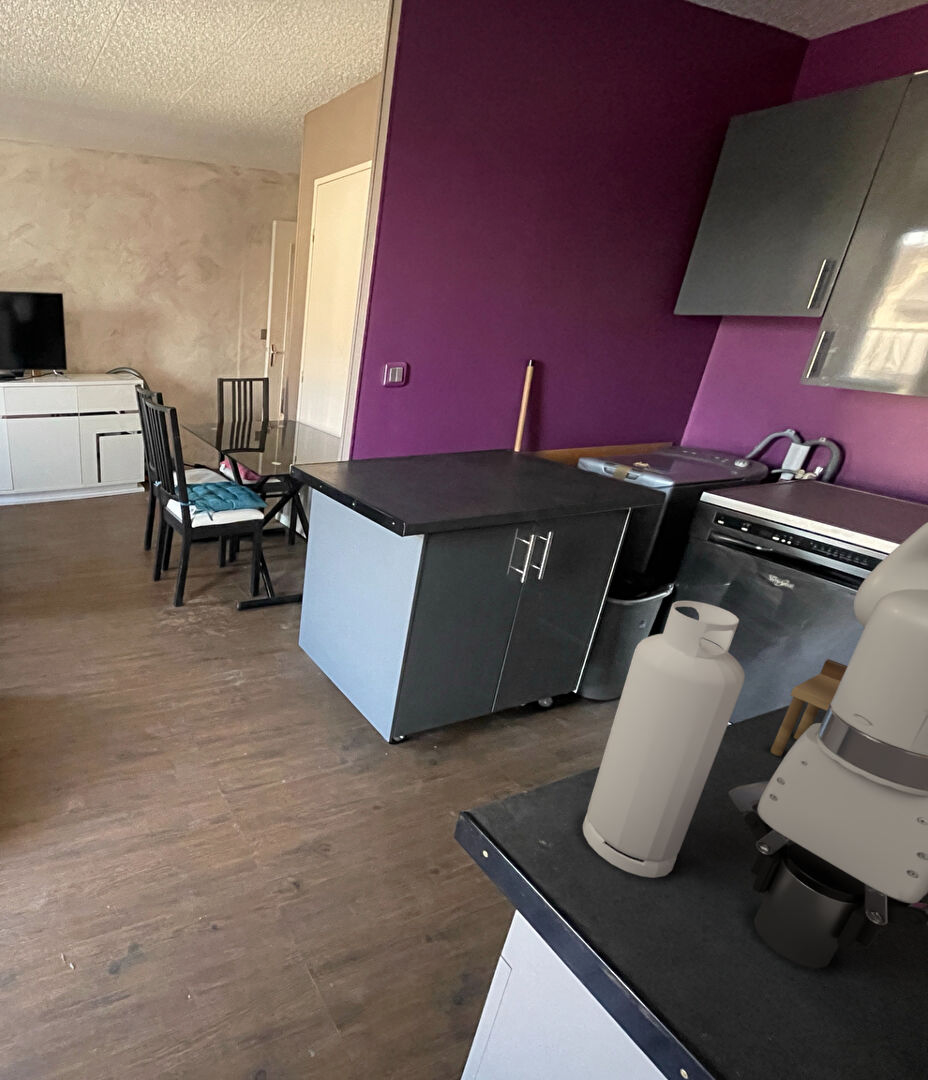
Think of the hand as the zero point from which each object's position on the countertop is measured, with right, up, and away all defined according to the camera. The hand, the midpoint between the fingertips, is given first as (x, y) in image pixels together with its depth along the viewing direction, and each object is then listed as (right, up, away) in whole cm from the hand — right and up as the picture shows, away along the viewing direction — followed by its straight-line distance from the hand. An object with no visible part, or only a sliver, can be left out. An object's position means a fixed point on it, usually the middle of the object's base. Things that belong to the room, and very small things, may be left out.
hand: (805, 910), depth 51 cm
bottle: (-8, 0, +11) cm, 14 cm away
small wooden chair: (+25, +5, +23) cm, 34 cm away
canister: (0, -4, +1) cm, 4 cm away
